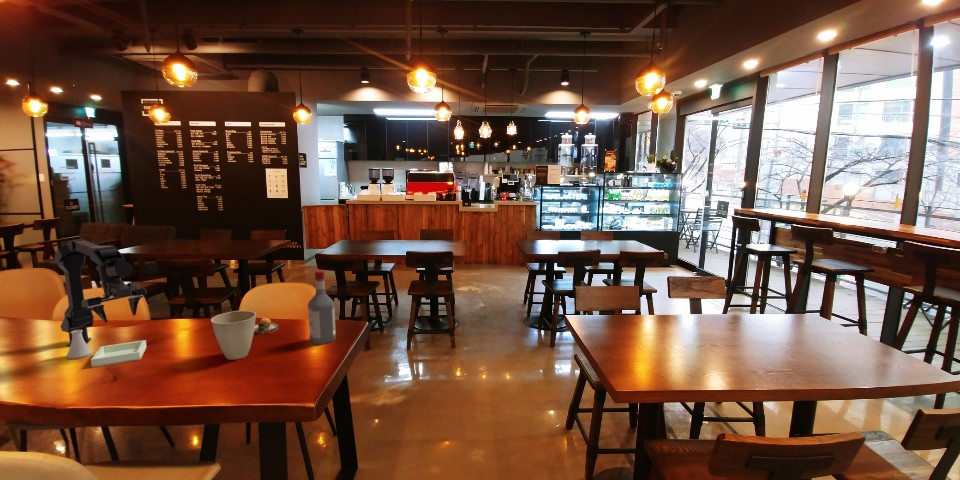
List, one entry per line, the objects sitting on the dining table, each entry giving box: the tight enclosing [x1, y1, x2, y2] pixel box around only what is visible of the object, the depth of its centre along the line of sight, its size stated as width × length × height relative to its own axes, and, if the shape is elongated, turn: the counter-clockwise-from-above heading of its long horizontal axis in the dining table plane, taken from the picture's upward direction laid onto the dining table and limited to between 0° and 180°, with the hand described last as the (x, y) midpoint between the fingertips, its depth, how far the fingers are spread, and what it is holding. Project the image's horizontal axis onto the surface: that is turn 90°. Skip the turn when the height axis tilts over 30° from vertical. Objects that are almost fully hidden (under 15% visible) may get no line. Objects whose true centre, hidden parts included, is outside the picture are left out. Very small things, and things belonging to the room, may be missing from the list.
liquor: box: [307, 270, 337, 346], centre depth 181 cm, size 9×9×30 cm
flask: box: [66, 330, 93, 360], centre depth 166 cm, size 7×7×10 cm
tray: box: [90, 339, 147, 368], centre depth 166 cm, size 14×14×3 cm
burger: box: [253, 316, 279, 335], centre depth 195 cm, size 12×12×8 cm
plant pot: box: [210, 310, 257, 361], centre depth 166 cm, size 15×15×16 cm
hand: (120, 319), depth 165 cm, fingers open, 9 cm apart
